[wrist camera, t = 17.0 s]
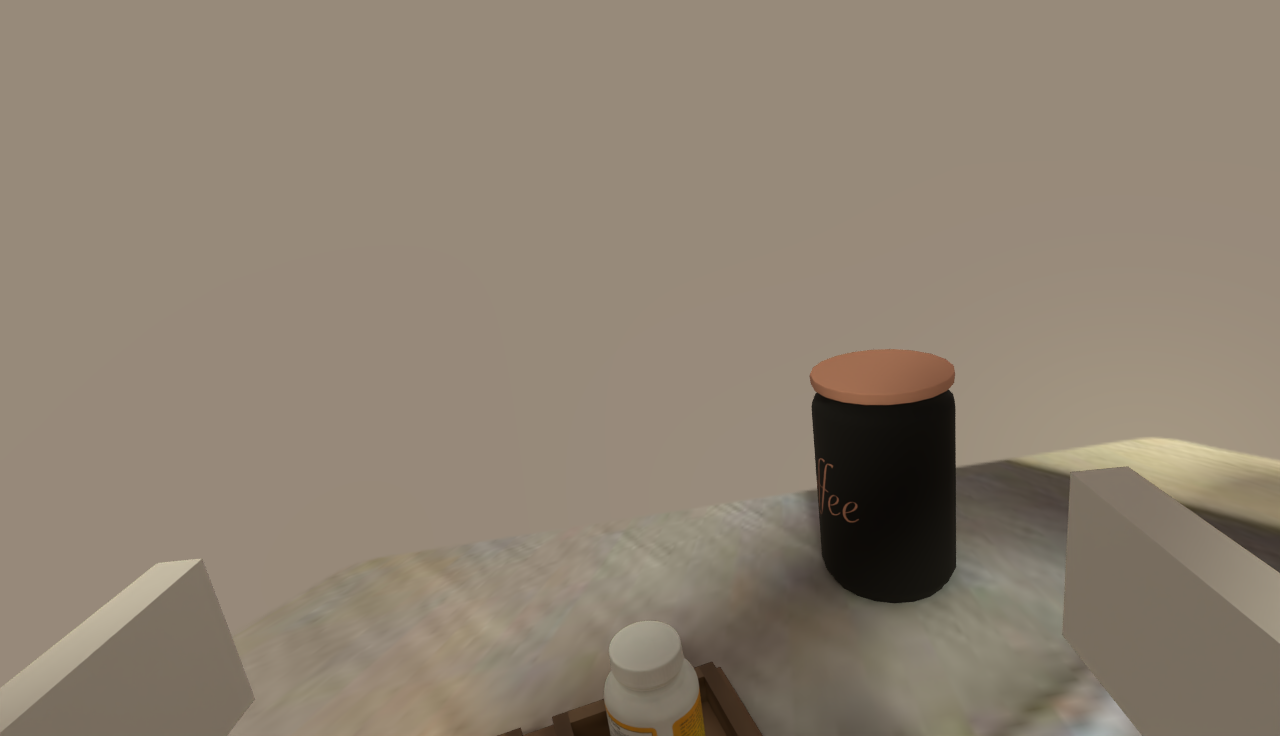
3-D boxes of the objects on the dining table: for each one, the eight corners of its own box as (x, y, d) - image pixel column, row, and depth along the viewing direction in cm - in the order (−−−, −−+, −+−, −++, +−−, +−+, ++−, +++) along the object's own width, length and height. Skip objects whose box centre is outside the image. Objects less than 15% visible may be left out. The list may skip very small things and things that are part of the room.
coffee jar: (820, 535, 65) (807, 353, 59) (942, 533, 62) (939, 344, 57) (825, 607, 55) (811, 398, 50) (970, 609, 52) (971, 389, 47)
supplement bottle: (630, 835, 37) (603, 692, 34) (613, 756, 42) (587, 626, 39) (724, 805, 38) (705, 663, 35) (696, 731, 43) (677, 602, 40)
